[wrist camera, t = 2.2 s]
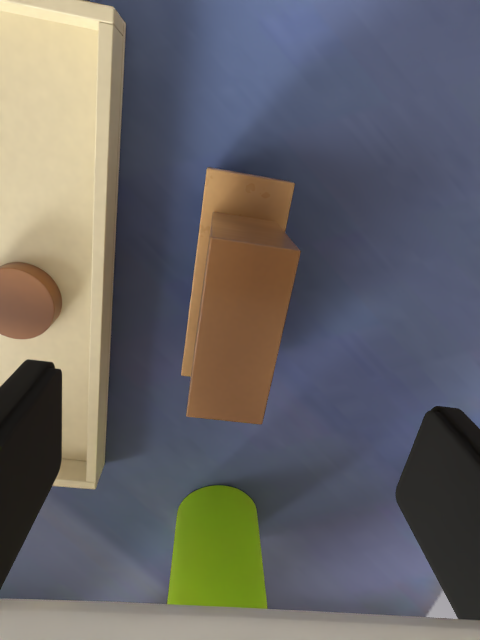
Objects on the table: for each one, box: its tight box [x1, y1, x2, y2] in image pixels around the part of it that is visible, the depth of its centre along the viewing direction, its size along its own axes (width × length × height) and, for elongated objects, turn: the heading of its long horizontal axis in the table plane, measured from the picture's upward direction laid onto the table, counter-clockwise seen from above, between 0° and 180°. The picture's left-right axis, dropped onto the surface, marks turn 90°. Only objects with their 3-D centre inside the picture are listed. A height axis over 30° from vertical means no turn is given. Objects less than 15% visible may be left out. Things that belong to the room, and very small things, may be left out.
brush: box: [181, 167, 301, 424], centre depth 19 cm, size 4×11×9 cm, turn 171°
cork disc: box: [0, 262, 62, 339], centre depth 22 cm, size 4×4×1 cm
